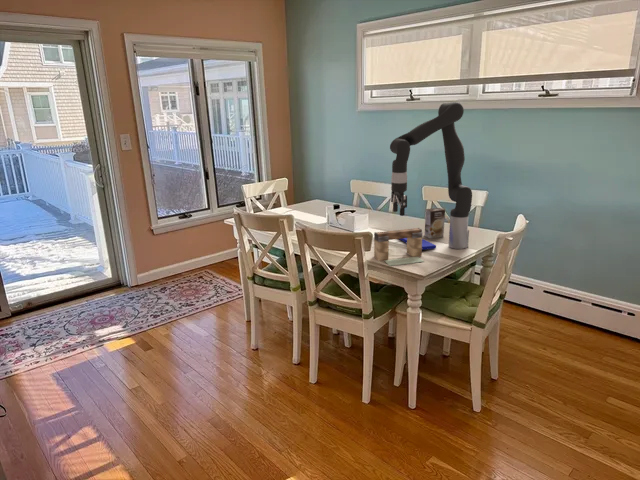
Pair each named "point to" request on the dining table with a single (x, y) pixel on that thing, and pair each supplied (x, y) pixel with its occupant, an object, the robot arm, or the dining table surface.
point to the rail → (397, 233)
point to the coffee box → (434, 222)
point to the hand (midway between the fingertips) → (398, 213)
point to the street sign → (423, 244)
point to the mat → (403, 261)
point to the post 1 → (381, 248)
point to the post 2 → (415, 245)
